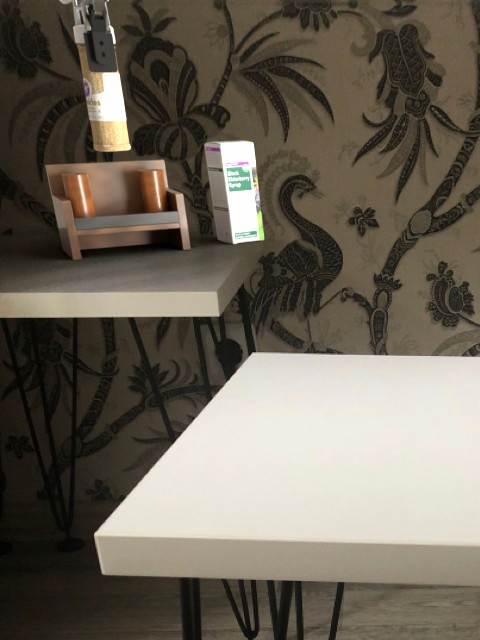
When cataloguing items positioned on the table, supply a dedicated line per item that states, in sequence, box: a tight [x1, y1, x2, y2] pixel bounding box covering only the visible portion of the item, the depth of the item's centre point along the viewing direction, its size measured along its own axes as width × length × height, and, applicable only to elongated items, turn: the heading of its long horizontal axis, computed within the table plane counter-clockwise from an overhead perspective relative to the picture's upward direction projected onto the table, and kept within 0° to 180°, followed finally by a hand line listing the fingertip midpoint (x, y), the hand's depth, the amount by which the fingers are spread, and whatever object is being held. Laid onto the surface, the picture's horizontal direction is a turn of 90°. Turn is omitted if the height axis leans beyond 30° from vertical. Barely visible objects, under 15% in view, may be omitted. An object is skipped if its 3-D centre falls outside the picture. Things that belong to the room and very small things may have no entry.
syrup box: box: [203, 140, 265, 245], centre depth 145 cm, size 6×6×14 cm
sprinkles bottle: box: [72, 24, 132, 153], centre depth 112 cm, size 5×5×13 cm
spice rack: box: [44, 159, 192, 261], centre depth 139 cm, size 17×10×12 cm, turn 119°
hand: (99, 70), depth 111 cm, fingers closed on sprinkles bottle, 4 cm apart
